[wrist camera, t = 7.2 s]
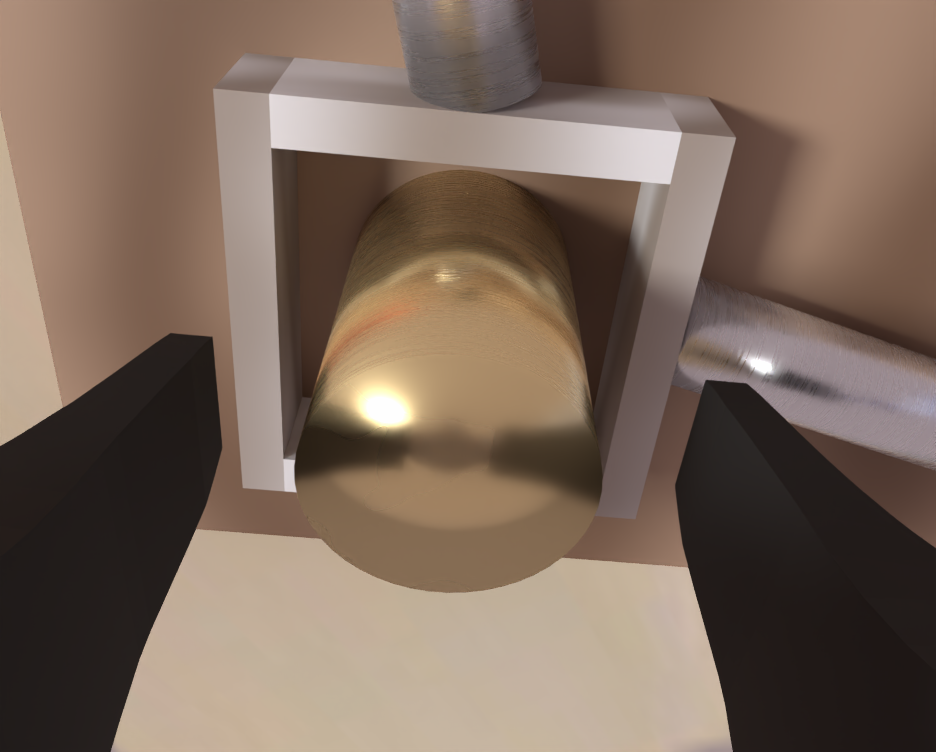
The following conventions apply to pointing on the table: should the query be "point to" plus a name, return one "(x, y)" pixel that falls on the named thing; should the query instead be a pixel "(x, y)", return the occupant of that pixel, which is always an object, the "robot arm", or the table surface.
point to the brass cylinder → (453, 394)
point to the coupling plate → (485, 150)
